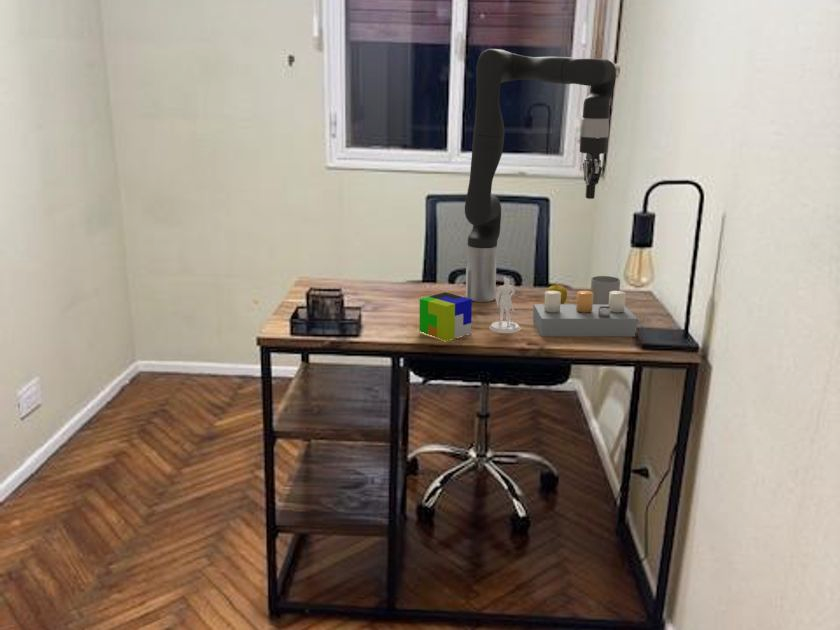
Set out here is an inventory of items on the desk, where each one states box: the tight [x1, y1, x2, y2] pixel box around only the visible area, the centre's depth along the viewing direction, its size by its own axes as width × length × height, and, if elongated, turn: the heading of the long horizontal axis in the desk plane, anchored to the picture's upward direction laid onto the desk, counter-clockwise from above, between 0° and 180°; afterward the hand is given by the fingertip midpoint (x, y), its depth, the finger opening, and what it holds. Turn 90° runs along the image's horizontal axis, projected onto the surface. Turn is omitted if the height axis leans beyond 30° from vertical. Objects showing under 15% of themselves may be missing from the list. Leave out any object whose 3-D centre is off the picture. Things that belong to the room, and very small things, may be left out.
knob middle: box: [576, 290, 594, 313], centre depth 211 cm, size 4×4×9 cm
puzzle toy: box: [419, 291, 473, 341], centre depth 206 cm, size 10×10×10 cm
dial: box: [598, 306, 611, 318], centre depth 206 cm, size 3×3×3 cm
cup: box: [590, 275, 621, 304], centre depth 228 cm, size 8×8×10 cm
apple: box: [546, 283, 568, 304], centre depth 230 cm, size 6×6×8 cm
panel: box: [532, 303, 638, 337], centre depth 212 cm, size 26×14×5 cm, turn 91°
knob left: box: [543, 290, 561, 313], centre depth 211 cm, size 4×4×9 cm
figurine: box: [488, 276, 521, 334], centre depth 210 cm, size 9×9×15 cm
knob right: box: [609, 291, 627, 313], centre depth 211 cm, size 4×4×9 cm
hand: (589, 198), depth 213 cm, fingers closed
